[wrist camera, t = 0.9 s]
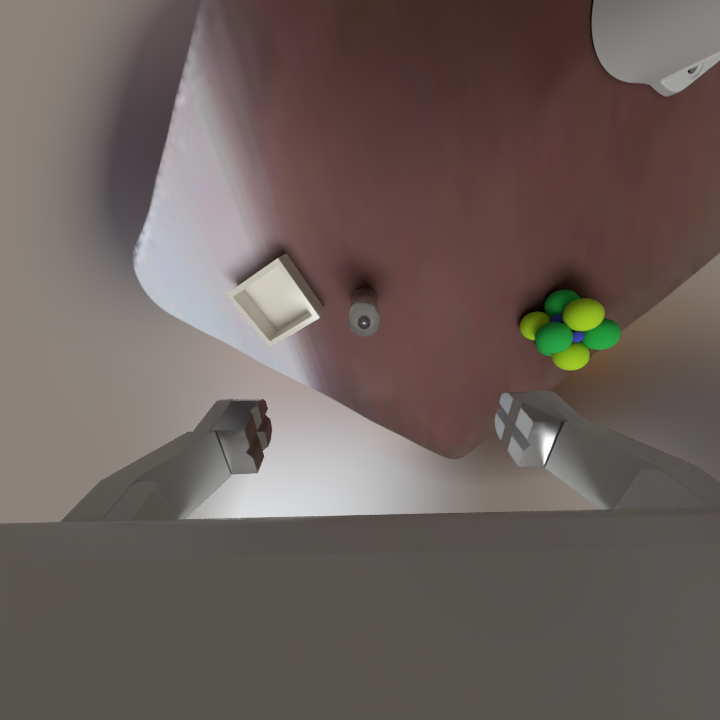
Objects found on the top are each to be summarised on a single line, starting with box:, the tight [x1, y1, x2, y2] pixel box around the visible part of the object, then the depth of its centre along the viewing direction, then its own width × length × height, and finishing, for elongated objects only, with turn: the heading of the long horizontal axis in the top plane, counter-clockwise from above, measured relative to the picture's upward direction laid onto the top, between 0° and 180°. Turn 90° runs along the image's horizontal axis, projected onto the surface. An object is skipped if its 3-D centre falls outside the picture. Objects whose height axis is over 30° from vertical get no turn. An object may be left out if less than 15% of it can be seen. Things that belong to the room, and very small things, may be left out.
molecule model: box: [520, 290, 621, 370], centre depth 40 cm, size 9×9×9 cm
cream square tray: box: [225, 253, 324, 348], centre depth 41 cm, size 10×10×4 cm
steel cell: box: [348, 287, 380, 336], centre depth 38 cm, size 4×4×10 cm
